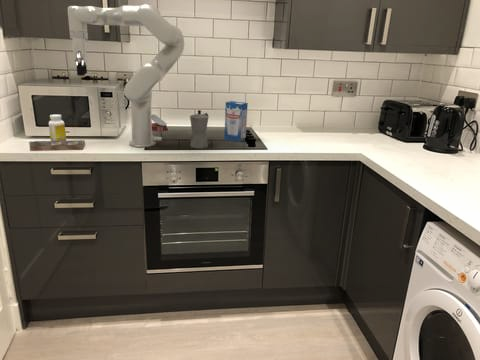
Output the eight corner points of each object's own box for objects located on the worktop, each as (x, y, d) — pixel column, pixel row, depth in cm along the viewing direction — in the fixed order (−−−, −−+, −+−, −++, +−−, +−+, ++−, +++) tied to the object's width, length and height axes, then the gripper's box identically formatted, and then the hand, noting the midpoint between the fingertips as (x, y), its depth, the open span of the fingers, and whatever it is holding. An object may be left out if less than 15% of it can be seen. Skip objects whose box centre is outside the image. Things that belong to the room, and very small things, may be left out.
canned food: (159, 135, 233) (165, 119, 234) (167, 137, 226) (173, 121, 226) (142, 128, 226) (148, 112, 227) (150, 129, 218) (156, 113, 219)
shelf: (84, 144, 189) (84, 136, 188) (82, 149, 180) (82, 141, 179) (35, 145, 184) (33, 136, 182) (30, 150, 174) (29, 142, 173)
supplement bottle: (69, 141, 184) (66, 114, 180) (61, 145, 178) (57, 117, 174) (56, 140, 185) (53, 113, 181) (47, 143, 179) (44, 116, 175)
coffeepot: (201, 150, 188) (201, 113, 182) (184, 147, 191) (184, 111, 185) (215, 143, 201) (216, 108, 195) (199, 141, 205) (199, 106, 199)
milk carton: (245, 139, 212) (247, 102, 206) (240, 142, 207) (242, 104, 200) (229, 137, 216) (231, 100, 210) (224, 139, 211) (225, 102, 205)
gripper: (72, 35, 184) (75, 72, 190) (67, 35, 169) (71, 76, 174) (89, 36, 186) (92, 73, 192) (85, 36, 171) (89, 76, 176)
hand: (82, 74), depth 183 cm, fingers open, 9 cm apart
